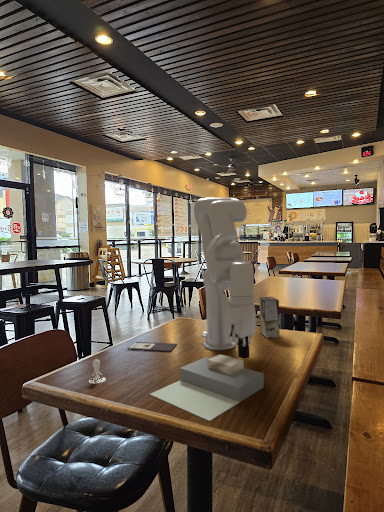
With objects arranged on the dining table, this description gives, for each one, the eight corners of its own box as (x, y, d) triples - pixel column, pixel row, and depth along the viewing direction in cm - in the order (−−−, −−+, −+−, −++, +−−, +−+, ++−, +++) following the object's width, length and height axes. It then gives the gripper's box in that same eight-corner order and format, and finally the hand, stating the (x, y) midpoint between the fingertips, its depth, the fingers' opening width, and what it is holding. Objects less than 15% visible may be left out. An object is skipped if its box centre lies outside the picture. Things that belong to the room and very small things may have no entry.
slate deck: (180, 380, 105) (179, 367, 105) (206, 369, 114) (205, 357, 114) (239, 402, 90) (238, 387, 90) (263, 387, 99) (263, 373, 98)
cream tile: (207, 367, 104) (207, 359, 104) (220, 361, 109) (219, 354, 109) (231, 374, 98) (231, 366, 98) (243, 368, 103) (243, 360, 102)
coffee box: (280, 337, 146) (279, 300, 145) (265, 338, 146) (264, 300, 145) (273, 331, 155) (272, 296, 155) (259, 332, 155) (258, 297, 154)
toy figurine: (108, 376, 110) (107, 354, 110) (99, 387, 102) (98, 363, 102) (92, 376, 111) (91, 354, 110) (82, 387, 103) (80, 363, 102)
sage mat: (149, 394, 96) (149, 393, 96) (180, 380, 105) (180, 380, 105) (209, 421, 81) (209, 420, 81) (239, 402, 90) (239, 401, 90)
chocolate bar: (170, 350, 132) (127, 348, 136) (170, 353, 132) (127, 351, 136) (177, 343, 141) (136, 342, 145) (177, 346, 141) (136, 344, 145)
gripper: (245, 296, 117) (247, 349, 118) (218, 303, 107) (219, 361, 107) (265, 298, 112) (266, 353, 113) (237, 305, 101) (239, 366, 102)
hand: (243, 357), depth 110 cm, fingers closed
